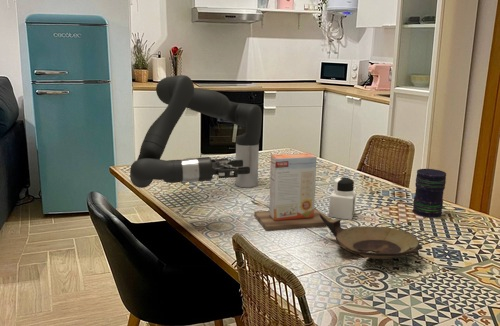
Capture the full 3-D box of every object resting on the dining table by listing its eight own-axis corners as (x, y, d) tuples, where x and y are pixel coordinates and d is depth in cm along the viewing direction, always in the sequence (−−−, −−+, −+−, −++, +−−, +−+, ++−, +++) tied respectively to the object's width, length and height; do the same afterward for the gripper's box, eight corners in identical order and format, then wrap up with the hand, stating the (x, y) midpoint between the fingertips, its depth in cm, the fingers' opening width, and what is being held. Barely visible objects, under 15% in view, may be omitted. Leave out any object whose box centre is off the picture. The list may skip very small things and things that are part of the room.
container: (354, 213, 175) (357, 177, 172) (351, 220, 168) (354, 183, 165) (332, 210, 178) (334, 174, 175) (328, 217, 171) (330, 180, 167)
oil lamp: (378, 280, 126) (380, 251, 125) (306, 239, 151) (308, 215, 150) (437, 262, 138) (441, 236, 136) (362, 227, 163) (363, 204, 161)
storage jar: (420, 206, 184) (425, 167, 180) (446, 213, 177) (451, 172, 174) (407, 212, 177) (411, 171, 174) (433, 219, 170) (438, 177, 167)
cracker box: (307, 212, 170) (310, 152, 165) (314, 218, 165) (317, 156, 160) (268, 215, 167) (270, 153, 162) (273, 221, 161) (276, 158, 156)
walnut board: (254, 216, 170) (254, 211, 169) (314, 211, 175) (314, 207, 175) (266, 230, 157) (266, 226, 156) (331, 225, 162) (331, 221, 162)
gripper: (199, 164, 148) (252, 160, 152) (192, 152, 161) (240, 149, 166) (200, 188, 150) (252, 184, 154) (192, 175, 163) (240, 171, 168)
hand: (246, 166), depth 160 cm, fingers open, 8 cm apart
